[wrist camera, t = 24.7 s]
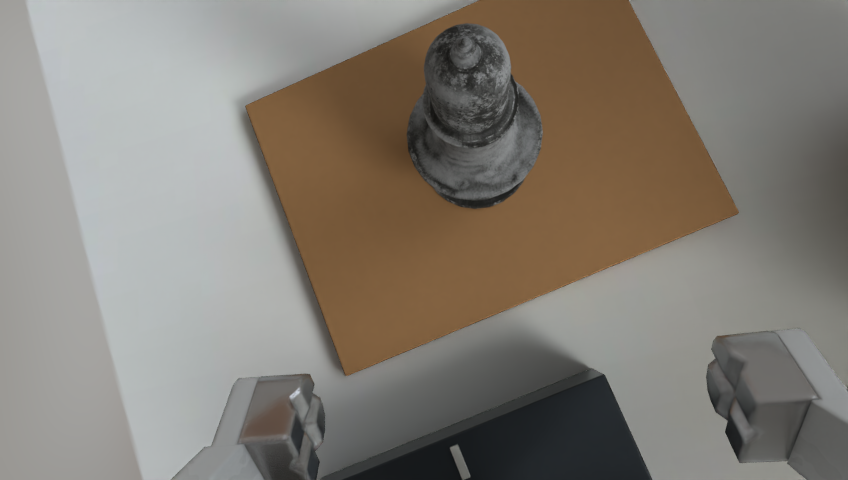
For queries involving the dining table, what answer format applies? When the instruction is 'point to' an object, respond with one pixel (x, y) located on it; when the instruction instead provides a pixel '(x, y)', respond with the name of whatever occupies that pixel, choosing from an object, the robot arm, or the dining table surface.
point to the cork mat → (502, 223)
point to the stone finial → (473, 120)
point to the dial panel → (522, 441)
